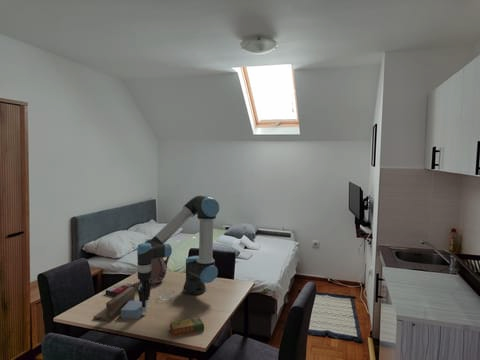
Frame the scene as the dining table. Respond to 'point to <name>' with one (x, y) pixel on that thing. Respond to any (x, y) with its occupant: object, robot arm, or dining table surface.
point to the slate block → (132, 310)
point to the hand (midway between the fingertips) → (144, 311)
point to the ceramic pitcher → (158, 269)
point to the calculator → (118, 289)
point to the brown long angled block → (115, 305)
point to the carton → (186, 326)
